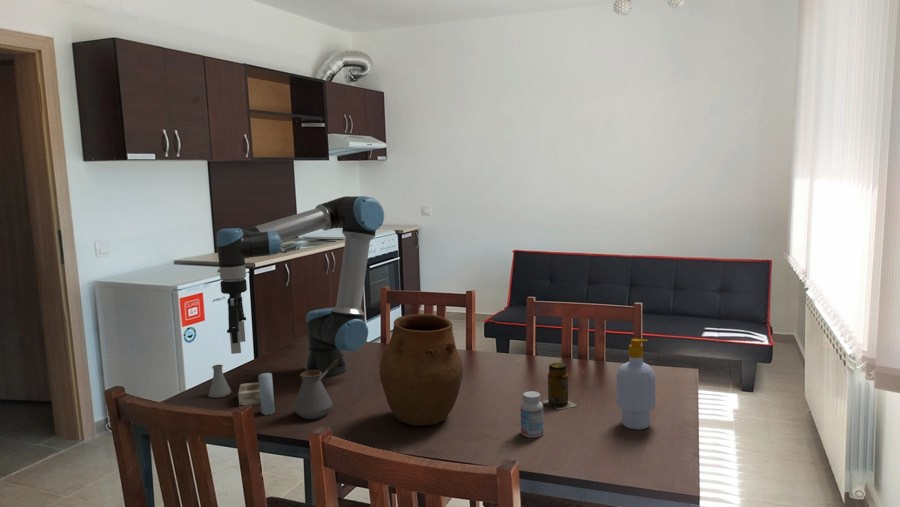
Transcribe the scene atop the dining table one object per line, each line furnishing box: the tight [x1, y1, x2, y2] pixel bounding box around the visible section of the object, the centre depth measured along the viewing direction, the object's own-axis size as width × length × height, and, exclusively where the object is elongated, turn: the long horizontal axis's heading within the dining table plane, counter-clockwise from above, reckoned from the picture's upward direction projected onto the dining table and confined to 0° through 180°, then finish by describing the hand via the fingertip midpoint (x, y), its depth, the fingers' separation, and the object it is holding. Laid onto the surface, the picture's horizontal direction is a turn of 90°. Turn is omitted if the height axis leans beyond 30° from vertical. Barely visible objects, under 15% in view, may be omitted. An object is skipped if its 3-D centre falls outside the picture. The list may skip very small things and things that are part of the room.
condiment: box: [541, 362, 578, 411], centre depth 196 cm, size 7×8×12 cm
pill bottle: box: [520, 390, 545, 439], centre depth 175 cm, size 6×6×11 cm
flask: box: [208, 364, 232, 399], centre depth 216 cm, size 7×7×10 cm
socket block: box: [237, 381, 261, 407], centre depth 211 cm, size 10×10×4 cm
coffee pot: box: [293, 353, 348, 420], centre depth 199 cm, size 21×12×15 cm, turn 149°
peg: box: [257, 372, 276, 416], centre depth 198 cm, size 4×4×12 cm
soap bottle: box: [616, 338, 657, 430], centre depth 177 cm, size 10×10×24 cm
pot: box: [379, 313, 464, 427], centre depth 186 cm, size 24×24×30 cm
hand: (238, 347), depth 200 cm, fingers open, 13 cm apart
